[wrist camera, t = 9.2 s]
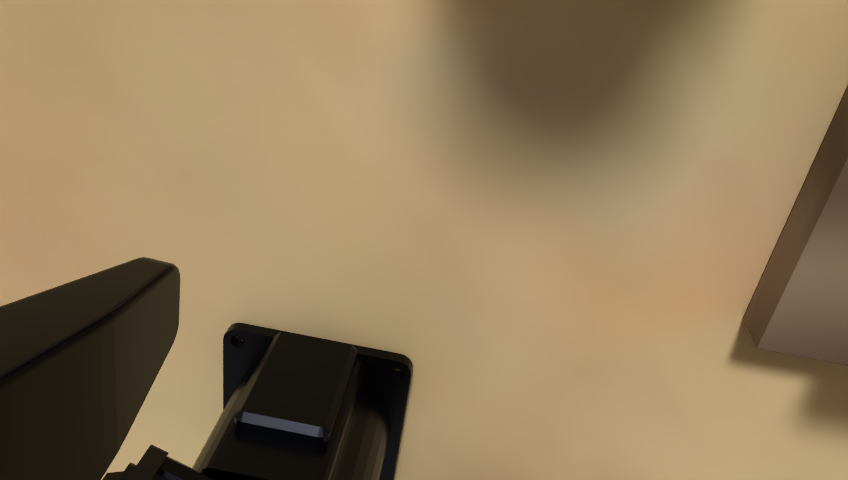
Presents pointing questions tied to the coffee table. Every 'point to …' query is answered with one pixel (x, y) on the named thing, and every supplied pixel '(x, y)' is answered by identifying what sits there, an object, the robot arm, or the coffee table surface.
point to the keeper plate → (810, 263)
